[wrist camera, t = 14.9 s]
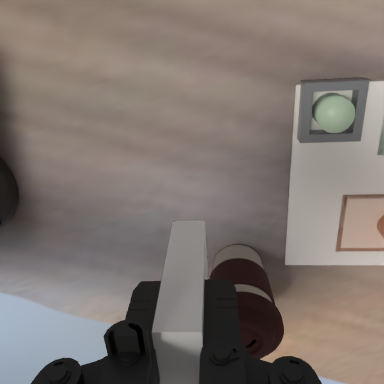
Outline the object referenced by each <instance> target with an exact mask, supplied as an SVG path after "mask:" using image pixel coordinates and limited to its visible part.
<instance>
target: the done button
mask: <svg viewBox="0 0 384 384" xmlns="http://www.w3.org/2000/svg"><path fill="white" fill-rule="evenodd" d="M312 116H313V118H314V120H315V121H316V122H317V123H318V124H319V126H320V127H321V128H322V129H323V130H325V131H326V132H329V133H339V132H342V131H344V130H346V129H347V128H348V127H349V126H350V125H351V124H352V123H353V121H354V118H355V108H354V105H353V104H352V103H351V102H350V101H349V100H347V99H346V98H344V97H343V96H341V95H339V94H337V93H326V94H323V95H321V96H320V97H319V98H318V99H317V100H316V101H315V103H314V104H313V107H312Z"/></svg>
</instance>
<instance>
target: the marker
mask: <svg viewBox="0 0 384 384" xmlns="http://www.w3.org/2000/svg"><path fill="white" fill-rule="evenodd" d="M377 229H378V231H379V233H380V234H381V236H382V237H383V238H384V215H383V216H382V217H381V218H380V219H379V221H378V223H377Z"/></svg>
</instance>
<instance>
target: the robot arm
mask: <svg viewBox="0 0 384 384" xmlns="http://www.w3.org/2000/svg"><path fill="white" fill-rule="evenodd" d="M17 203H18V191H17V186H16V182H15V180H14V177H13V175H12V173H11V171H10V170H9V168H8V167H7V165H6V164H5V163H4V161H3V160H2V159H1V158H0V228H1V227H2V226H3V225H4V224H5V223H6V222H7V221H8V220H9V219H10V218H11V217H12V216H13V214H14V212H15V210H16V207H17ZM207 274H208V267H207V248H206V229H205V220H199V221H173V223H172V228H171V233H170V239H169V244H168V249H167V254H166V260H165V265H164V270H163V275H162V281H142V282H140V283H139V284H138V286H137V287H136V288H135V289H134V290H133V293H132V297H131V300H130V301H131V302H130V304H129V307H128V311H127V314H126V318H125V320H123V321H120V322H118V323H116V324H114V325H112V326H111V327H110V328H109V329H108V330H107V332H106V333H105V335H104V340H105V344H106V349H107V353H108V356H106V357H104V358H103V359H101V360H98V361H96V362H92V363H89V364H85V365H82V366H80V364H79V363H78V361H76V360H74V359H72V358H61V359H58V360H55V361H53V362H51V363H49V364H48V365H46V366H45V367H44V368H43V369H42V370H41V371H40V372H39V374H38V375H37V376H36V377H35V379H34V380H33V381H32V383H31V384H322V383H321V381H320V380H319V378H318V376H317V375H316V373H315V371H314V370H313V369H312V367H311V366H310V365H309V364H308V363H306V362H305V361H303V360H302V359H300V358H296V357H293V356H283V357H281V358H278V359H276V360H275V361H274V362H273V363H270V362H266V361H263V360H260V359H258V358H255V357H254V356H252V355H251V354H249V353H248V352H247V351H246V350H245V348H244V346H243V345H242V341H241V335H240V324H239V313H238V303H237V292H236V287H235V286H234V284H233V283H232V281H231V280H230V279H207Z"/></svg>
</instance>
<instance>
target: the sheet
mask: <svg viewBox="0 0 384 384" xmlns="http://www.w3.org/2000/svg"><path fill="white" fill-rule="evenodd" d="M300 88H301V84H299V85H296V89H295V105H294V121H293V137H292V152H291V168H290V184H289V200H288V216H287V232H286V248H285V265H384V238H383V237H382V236H381V234H380V233H379V231H378V229H377V223H378V221H379V219H380V218H381V217H382V216H383V215H384V81H369V88H368V95H367V101H366V108H365V115H364V122H363V128H362V135H361V141H355V142H322V143H300V142H299V141H298V139H297V132H298V117H299V103H300ZM352 91H353V90H344V91H322V92H313V96H312V107H313V104H314V103H315V101H316V100H317V99H318V98H319V97H320V96H321V95H323V94H326V93H337V94H339V95H341V96H343V97H344V98H346V99H347V100H349V101H350V102H351V99H352ZM347 129H348V128H347ZM310 130H323V129H322V128H321V127H320V126H319V124H318V123H317V122H316V121H315V120H314V118H313V116H312V108H311V120H310Z"/></svg>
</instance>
